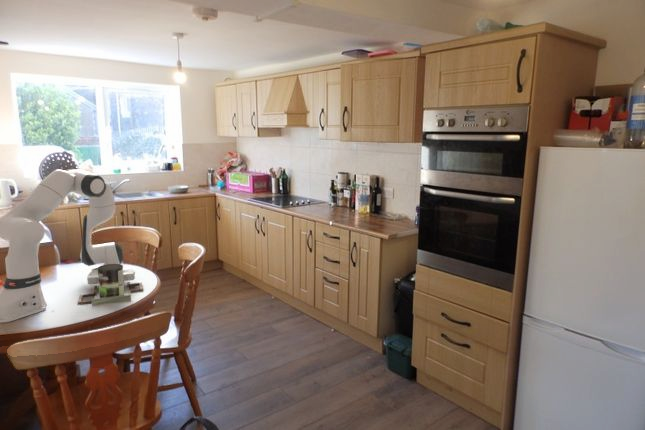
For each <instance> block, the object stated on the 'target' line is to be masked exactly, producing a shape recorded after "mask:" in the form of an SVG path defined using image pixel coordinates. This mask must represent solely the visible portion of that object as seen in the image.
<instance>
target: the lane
mask: <svg viewBox="0 0 645 430" xmlns="http://www.w3.org/2000/svg"><path fill="white" fill-rule="evenodd" d="M126 286H127V288H128V289H127V294H124V295H120V296H112V297H103V298H99V297H98V298H97V297H96V296H97V294H98V293H97V292H98V285H94V287H93V291H92V292H91V293H82V294H79V297H78V301H77V305H78V306H79V304H80V305H86V304H91V306H97V305H98V306H99V305H106V304H114V303H121V302H130V300H131V301H132V294H131V293H138V292H137V291H139V292H143V291H144V288H143V287H144V286H143V282H134V283H132V282H130V281H126ZM95 297H96V298H95Z"/></svg>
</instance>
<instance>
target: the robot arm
mask: <svg viewBox="0 0 645 430" xmlns="http://www.w3.org/2000/svg"><path fill="white" fill-rule="evenodd" d="M70 193H75V194H76V195H79V196H80V195H81V196H87V198H88V205H89V209H88V212H87V214H85V215H84V216H83V221H82V230H81V231H82V232H81V233H82V235H81V249H80V254H79V257H80V261H81V263H82V264H84V265H85V266H88V267H91V266H95V265H97V264H103V265H106V264H121V265H122V263H123V260H124V255H123V254H124V253H123V250H122V246H121V245H120V244H119V243H117V242H115V241H113V242H105V243H100V244H92V231H93V229H95V228H96V227H98V226H100V225H102V224H104V223H106V222H108V221H109V220H111V219H112V218H113V217H114V215H115V214H116V202H115V197H114V192H113V189H112V187H111V185H110V184H109V183H108V182H107V181H105V180H104V179H103V177H102V176H100V175H99V174H97V173H94V172H93V173H92V172H90V171H87V170H83V169H77V168H70V169H69V168H68V169H66V170H63V169H54V170H53V171H51V172H50V173H49V174H47V175H46V176H45V178H43V179H42V180H41V181H40V182H39V183H38V184H37V186H35V187H34V189H33V190H31V193H29V194H28V195H27V196H26V197H25V198H24V199H23V200H22V201H21V202H20V203H18V204H17V205H16V206H14V207H13V208H12V209H10V210H9V211H8V212H6V213H5V214H3V215H1V216H0V239H1V240H4V241H8V243H9V245H8V251H7V255H6V256H5V260H4V262H5V271H6V277H5V280H2V279H1V280H0V286H2V287H3V288H1V290H0V323H2V324H3V323H10V322H13V321H16V320H18V319H21V318H25V317H28V316H31V315H34V314H36V313H40V312H43V311H45V310H47V308H46V307H47V302H46V300H45V295H44V293H43V290H42V285H41V282H42V277H41V276H42V275H41V272H40V268H39V248H40V245H41V241H42V240H43V239H44V237H45V233H46V230H45V227H44V226H43V225H42V224H41V223H40V222H41V221H42V220H43V219H46V218H47V217H49V216H51V215H52V214H53V213H54V212H55V210H57V208H58V207H59V206H60V205H61V204H62V202H63V201H64V200H65V198H66V197H67V196H68V195H69V194H70ZM97 268H98V267H95V268H92V269H91V272H89V273H88V275H87V278H86V280H87V281H86V282H87V284H88V285H90V286H91V285H99V280H98V269H97ZM135 275H136V271H134V270H133V269H123V282H130V281H134V280H135V279H136V276H135Z"/></svg>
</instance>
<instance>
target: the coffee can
mask: <svg viewBox="0 0 645 430" xmlns="http://www.w3.org/2000/svg"><path fill="white" fill-rule="evenodd" d="M96 268H97V269H98V280H99V284H98V293H99V294H98V295H99V297H98V298H103V297H112V296H120V295H125V292H124V291H125V290H124V289H125V287H124V285H125V284H124V281H123V270H124V269H123V268H124V266H123V264H122V263H121V264H106V265H100V266H98V267H96Z"/></svg>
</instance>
